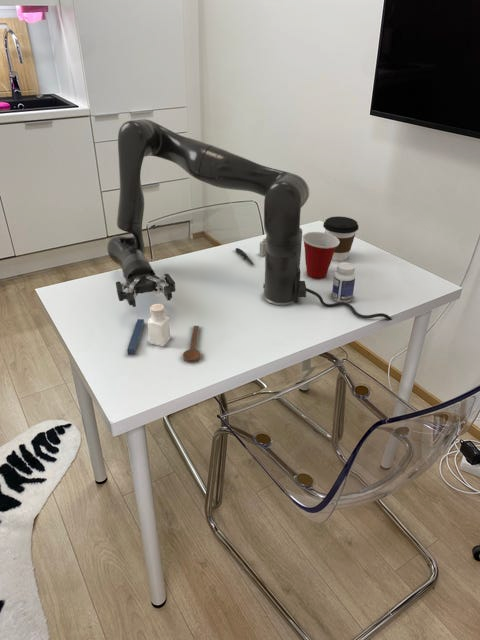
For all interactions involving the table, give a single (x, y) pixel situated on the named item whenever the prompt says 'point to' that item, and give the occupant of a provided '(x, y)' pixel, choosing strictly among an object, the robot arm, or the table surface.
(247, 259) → the folding knife
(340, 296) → the pill bottle
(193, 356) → the wooden spoon
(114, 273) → the table surface
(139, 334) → the blue stick
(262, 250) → the lighter
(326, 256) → the plastic cup
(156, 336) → the salt shaker
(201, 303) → the table surface
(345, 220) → the coffee cup
